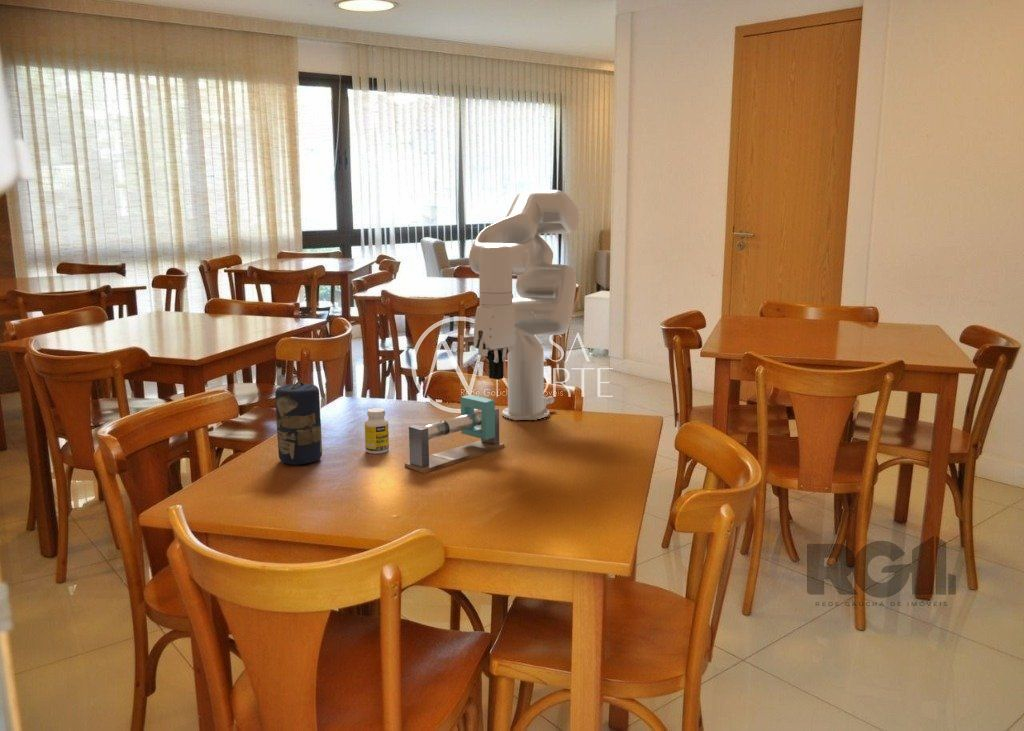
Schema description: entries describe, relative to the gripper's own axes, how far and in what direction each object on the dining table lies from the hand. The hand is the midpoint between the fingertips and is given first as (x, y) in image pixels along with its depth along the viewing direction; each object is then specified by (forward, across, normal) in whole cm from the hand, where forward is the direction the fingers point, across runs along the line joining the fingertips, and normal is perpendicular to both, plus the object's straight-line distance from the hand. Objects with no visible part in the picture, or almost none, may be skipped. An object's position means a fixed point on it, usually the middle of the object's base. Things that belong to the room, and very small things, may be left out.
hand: (496, 378), depth 197 cm
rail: (+16, +13, 0) cm, 21 cm away
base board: (+16, +13, 0) cm, 21 cm away
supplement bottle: (+16, +22, -17) cm, 32 cm away
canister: (+17, +38, -24) cm, 48 cm away
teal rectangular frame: (+13, +6, 0) cm, 14 cm away
